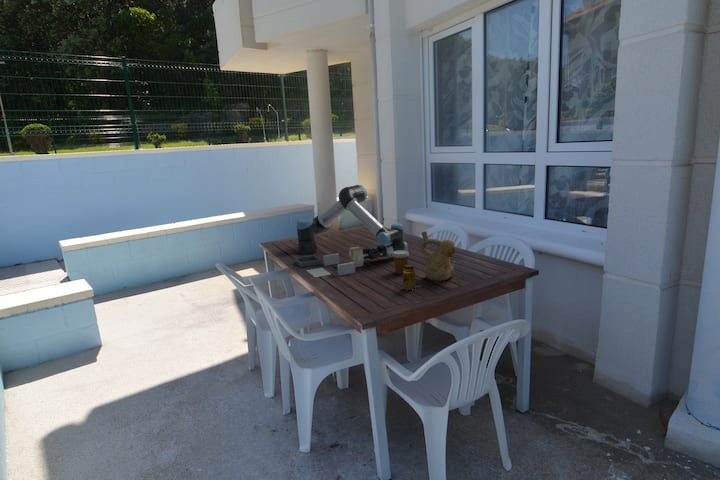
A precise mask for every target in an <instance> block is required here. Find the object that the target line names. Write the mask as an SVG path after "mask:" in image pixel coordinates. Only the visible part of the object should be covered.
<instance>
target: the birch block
mask: <svg viewBox="0 0 720 480" xmlns="http://www.w3.org/2000/svg"><path fill="white" fill-rule="evenodd" d="M363 249H364V248H363V247H360V246H353V247H349V251H350V256H349V258H350V262H354V263H355V268H358V267H363V266H365V265H364V260H361V261H358V256H362V255H364V254H363ZM350 262H349V263H350Z"/></svg>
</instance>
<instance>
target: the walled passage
mask: <svg viewBox="0 0 720 480" xmlns="http://www.w3.org/2000/svg"><path fill="white" fill-rule="evenodd" d="M322 262H323V266H330V265H332V266H333V265H337V266H336V267H337V275H338V276H344V275H351V274H355V273H356V267H355V263H354V262H345V263H341V261H340V253H339V252H337V253H332V254H326V255H322Z"/></svg>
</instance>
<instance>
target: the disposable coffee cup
mask: <svg viewBox="0 0 720 480" xmlns="http://www.w3.org/2000/svg"><path fill="white" fill-rule="evenodd" d="M391 256H392V258H393V263H394V271H395V273H396V274H397V275H403V271H404V265H409V264H408V263H409V256H410V252H409V251H408V250H407V251H406V250H397V251H394V252H393V254H392V255H391Z"/></svg>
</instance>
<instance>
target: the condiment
mask: <svg viewBox="0 0 720 480" xmlns="http://www.w3.org/2000/svg"><path fill="white" fill-rule="evenodd" d="M402 277H403V287H404V289H406V290H405V291H408V290H412V291H411V292H414V291H416V290H417V289H420V288H421V287H422V286H421V285H416V271H415V265H413V264H408V265H404V271H403V274H402ZM416 286H417V287H416ZM415 287H416V288H415ZM414 289H415V290H414ZM413 290H414V291H413Z"/></svg>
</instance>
